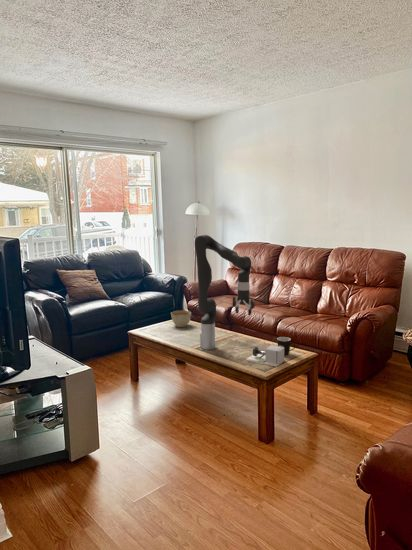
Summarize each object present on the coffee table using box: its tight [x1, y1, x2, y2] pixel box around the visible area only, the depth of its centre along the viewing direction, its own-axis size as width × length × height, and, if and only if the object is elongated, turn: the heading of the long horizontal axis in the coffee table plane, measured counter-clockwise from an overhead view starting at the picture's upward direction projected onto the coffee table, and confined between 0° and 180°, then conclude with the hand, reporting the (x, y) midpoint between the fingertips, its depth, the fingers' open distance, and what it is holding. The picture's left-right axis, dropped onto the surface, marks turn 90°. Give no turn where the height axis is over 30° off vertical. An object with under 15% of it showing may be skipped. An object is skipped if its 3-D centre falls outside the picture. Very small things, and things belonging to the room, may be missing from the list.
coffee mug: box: [276, 336, 297, 357], centre depth 257 cm, size 12×9×10 cm
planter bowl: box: [170, 310, 192, 328], centre depth 328 cm, size 16×16×11 cm
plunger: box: [252, 346, 265, 358], centre depth 247 cm, size 14×9×6 cm, turn 58°
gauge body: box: [245, 344, 285, 367], centre depth 248 cm, size 20×12×9 cm, turn 58°
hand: (243, 314), depth 257 cm, fingers open, 8 cm apart
